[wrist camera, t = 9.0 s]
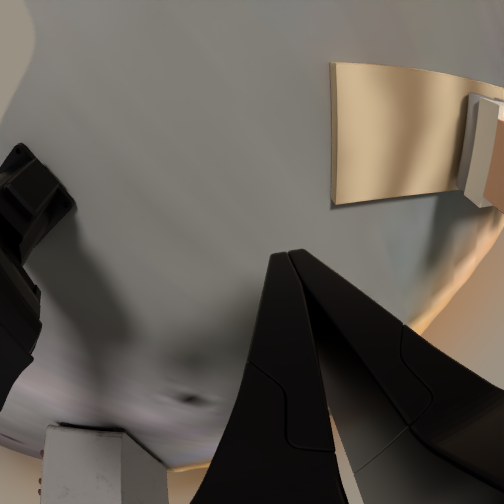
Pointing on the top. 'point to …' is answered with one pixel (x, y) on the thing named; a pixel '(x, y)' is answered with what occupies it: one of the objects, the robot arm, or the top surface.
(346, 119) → the tan cardboard slab
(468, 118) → the brown piece
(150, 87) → the top surface
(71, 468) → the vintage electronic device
